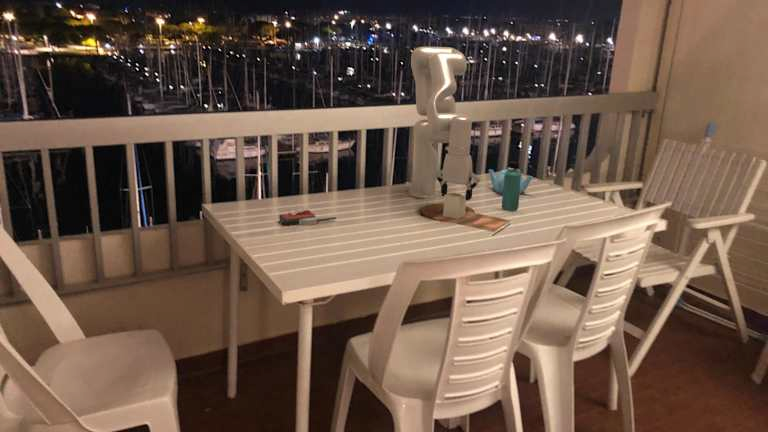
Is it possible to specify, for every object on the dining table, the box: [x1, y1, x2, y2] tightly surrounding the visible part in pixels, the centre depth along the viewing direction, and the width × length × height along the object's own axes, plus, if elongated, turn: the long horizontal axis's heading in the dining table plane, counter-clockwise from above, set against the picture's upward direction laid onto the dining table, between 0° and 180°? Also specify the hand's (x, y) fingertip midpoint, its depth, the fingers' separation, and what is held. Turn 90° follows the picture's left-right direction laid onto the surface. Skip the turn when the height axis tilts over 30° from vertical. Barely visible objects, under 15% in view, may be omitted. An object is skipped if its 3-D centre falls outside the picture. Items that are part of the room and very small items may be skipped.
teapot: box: [488, 166, 533, 195], centre depth 263 cm, size 15×15×11 cm
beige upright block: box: [442, 191, 467, 219], centre depth 221 cm, size 6×6×8 cm
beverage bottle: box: [501, 161, 522, 212], centre depth 231 cm, size 6×7×20 cm
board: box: [432, 210, 511, 237], centre depth 219 cm, size 24×16×6 cm, turn 57°
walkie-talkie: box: [278, 208, 337, 227], centre depth 214 cm, size 9×4×20 cm
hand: (456, 197), depth 220 cm, fingers open, 9 cm apart
